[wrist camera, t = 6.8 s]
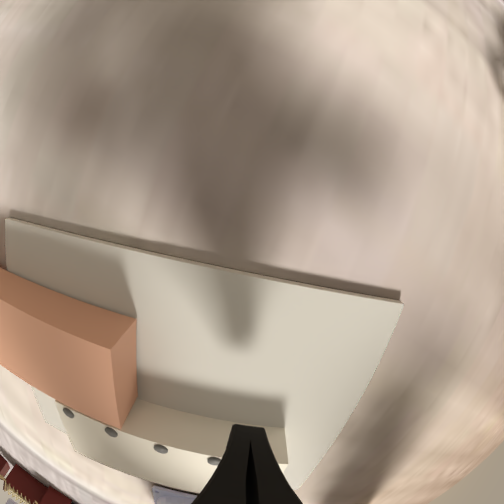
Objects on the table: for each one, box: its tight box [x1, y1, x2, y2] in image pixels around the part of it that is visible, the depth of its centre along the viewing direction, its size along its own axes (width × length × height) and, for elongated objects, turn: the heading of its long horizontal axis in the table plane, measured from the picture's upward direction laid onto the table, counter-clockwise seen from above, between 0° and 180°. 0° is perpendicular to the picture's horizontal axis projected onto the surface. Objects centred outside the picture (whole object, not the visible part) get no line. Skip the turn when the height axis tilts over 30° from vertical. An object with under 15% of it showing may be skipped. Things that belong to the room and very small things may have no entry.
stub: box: [0, 268, 138, 429], centre depth 11 cm, size 6×14×3 cm, turn 78°
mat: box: [5, 217, 404, 490], centre depth 14 cm, size 19×24×1 cm
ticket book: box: [55, 398, 288, 493], centre depth 13 cm, size 6×14×3 cm, turn 78°
